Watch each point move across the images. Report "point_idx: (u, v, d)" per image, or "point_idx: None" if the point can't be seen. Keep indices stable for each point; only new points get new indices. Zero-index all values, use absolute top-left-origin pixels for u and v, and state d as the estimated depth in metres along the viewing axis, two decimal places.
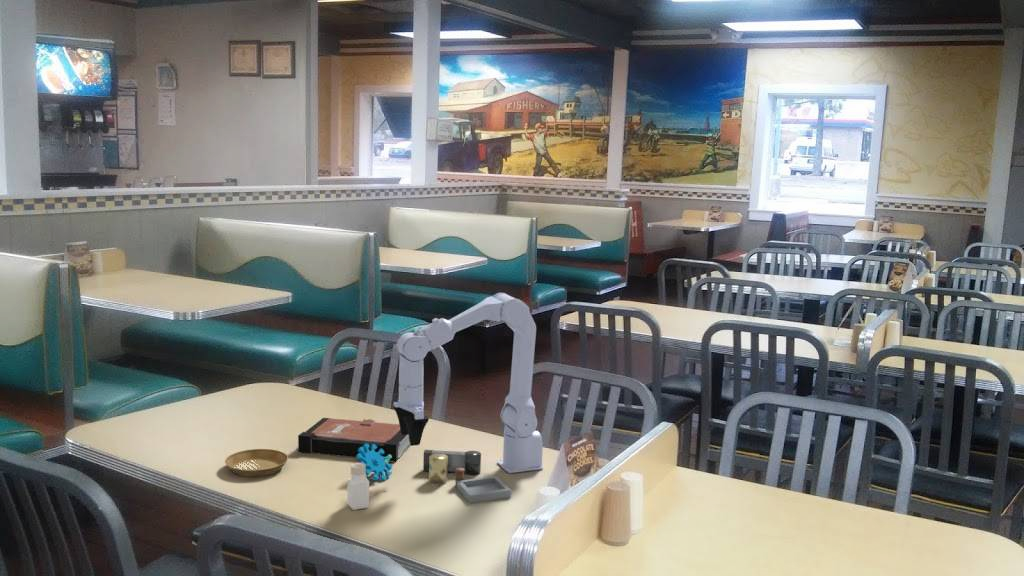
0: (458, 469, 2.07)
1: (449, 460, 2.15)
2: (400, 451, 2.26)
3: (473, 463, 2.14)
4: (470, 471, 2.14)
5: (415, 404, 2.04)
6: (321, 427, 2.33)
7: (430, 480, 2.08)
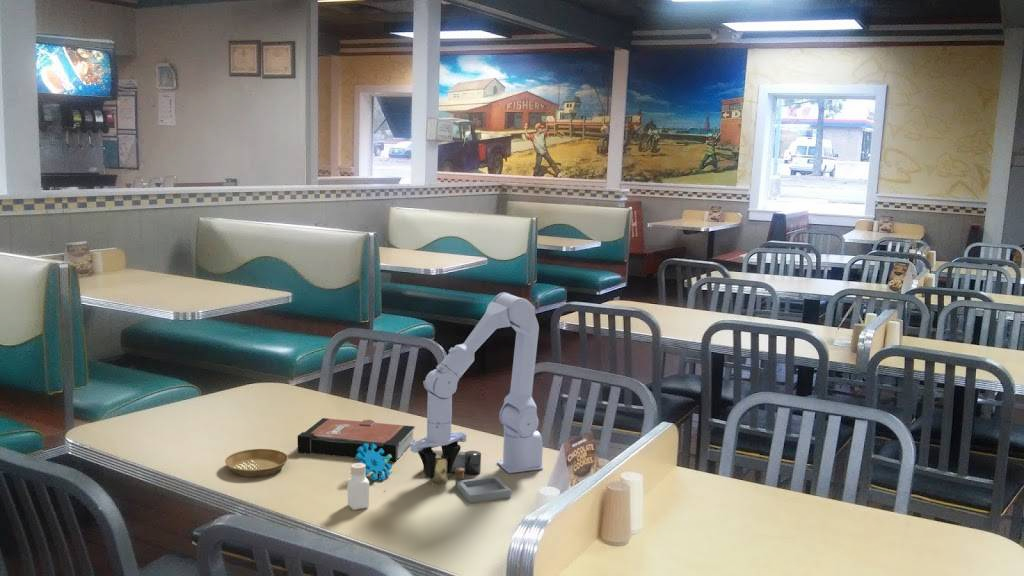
0: (458, 469, 2.07)
1: None
2: (399, 452, 2.25)
3: (473, 463, 2.14)
4: (470, 471, 2.14)
5: (429, 439, 2.06)
6: (321, 427, 2.33)
7: (430, 480, 2.08)
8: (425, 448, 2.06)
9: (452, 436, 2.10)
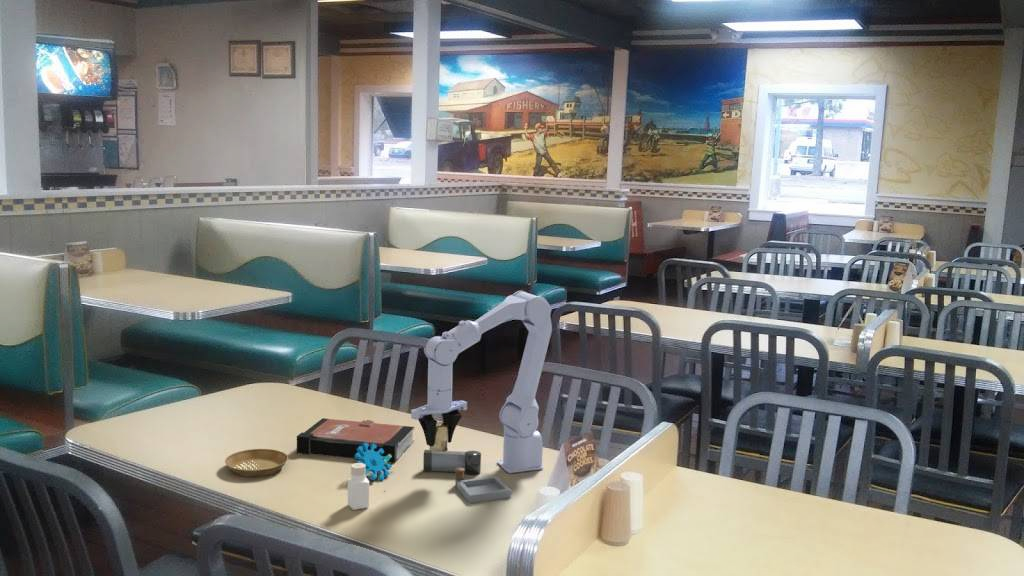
0: (458, 469, 2.07)
1: (449, 460, 2.15)
2: (399, 452, 2.25)
3: (473, 463, 2.14)
4: (470, 471, 2.14)
5: (430, 407, 2.05)
6: (320, 427, 2.33)
7: (431, 448, 2.07)
8: (425, 415, 2.04)
9: (453, 404, 2.09)
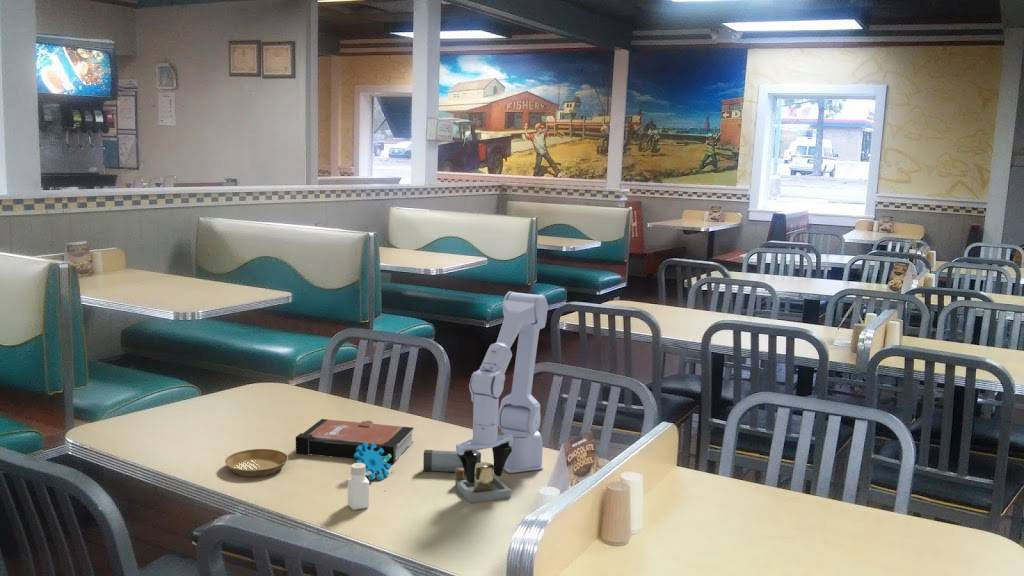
0: (458, 469, 2.07)
1: (449, 460, 2.15)
2: (398, 453, 2.24)
3: None
4: None
5: (475, 441, 2.00)
6: (319, 428, 2.32)
7: (475, 489, 2.02)
8: (470, 450, 1.99)
9: (498, 438, 2.04)
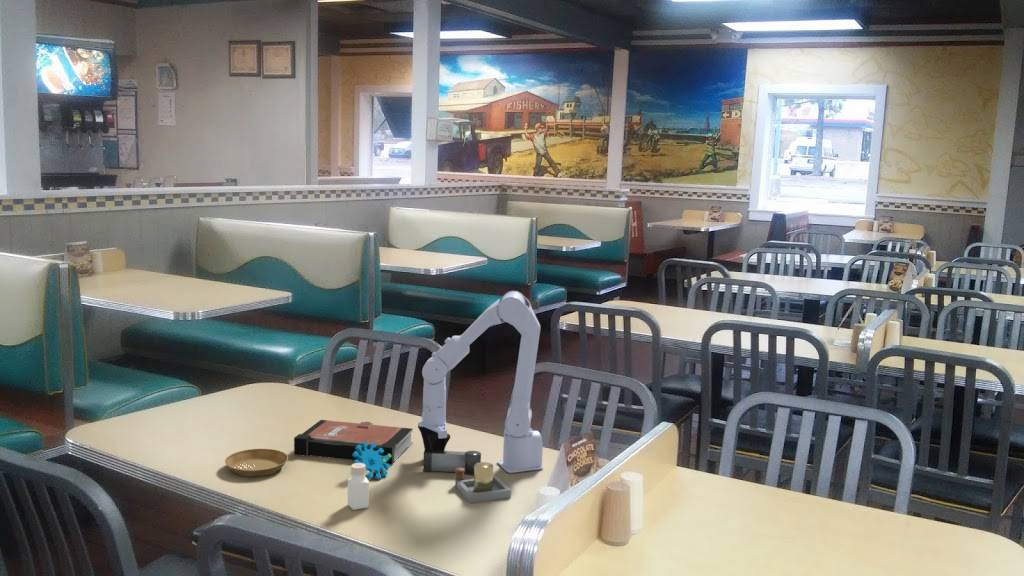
0: (458, 469, 2.07)
1: (449, 460, 2.15)
2: (396, 454, 2.23)
3: (473, 463, 2.14)
4: (470, 471, 2.14)
5: (438, 424, 2.18)
6: (318, 429, 2.32)
7: (475, 489, 2.02)
8: None
9: None
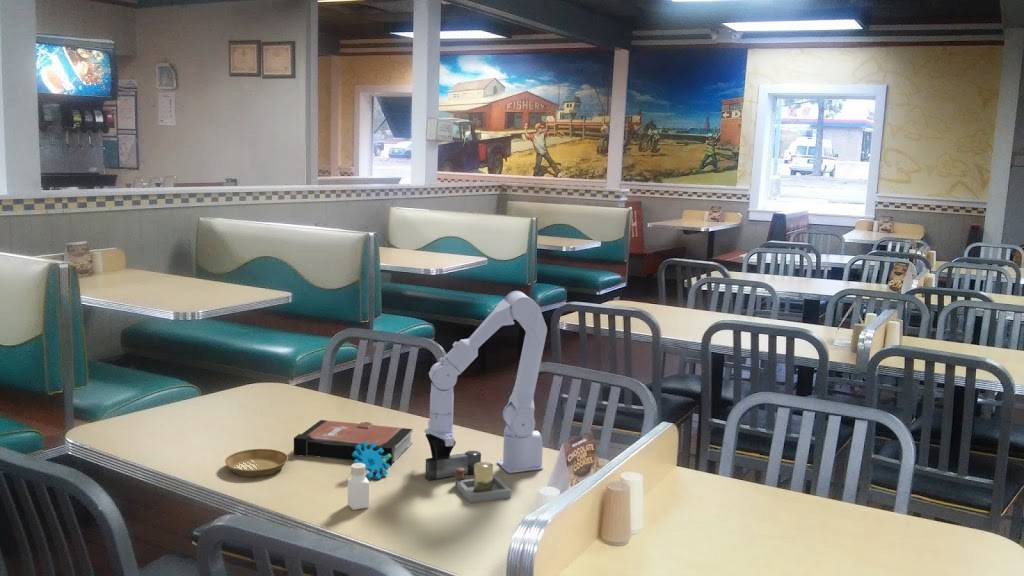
0: (458, 469, 2.07)
1: (453, 464, 2.12)
2: (396, 454, 2.23)
3: (477, 462, 2.14)
4: None
5: (445, 431, 2.12)
6: (318, 429, 2.31)
7: (474, 489, 2.02)
8: None
9: None
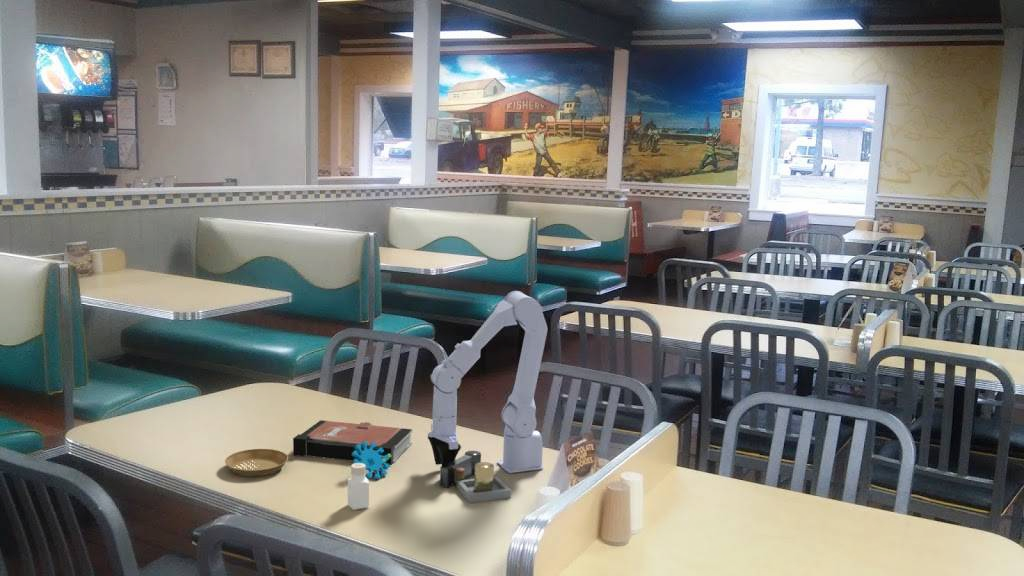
0: (458, 469, 2.07)
1: (463, 467, 2.10)
2: (396, 455, 2.23)
3: (480, 461, 2.15)
4: None
5: (449, 434, 2.10)
6: (317, 429, 2.31)
7: (474, 488, 2.02)
8: None
9: None
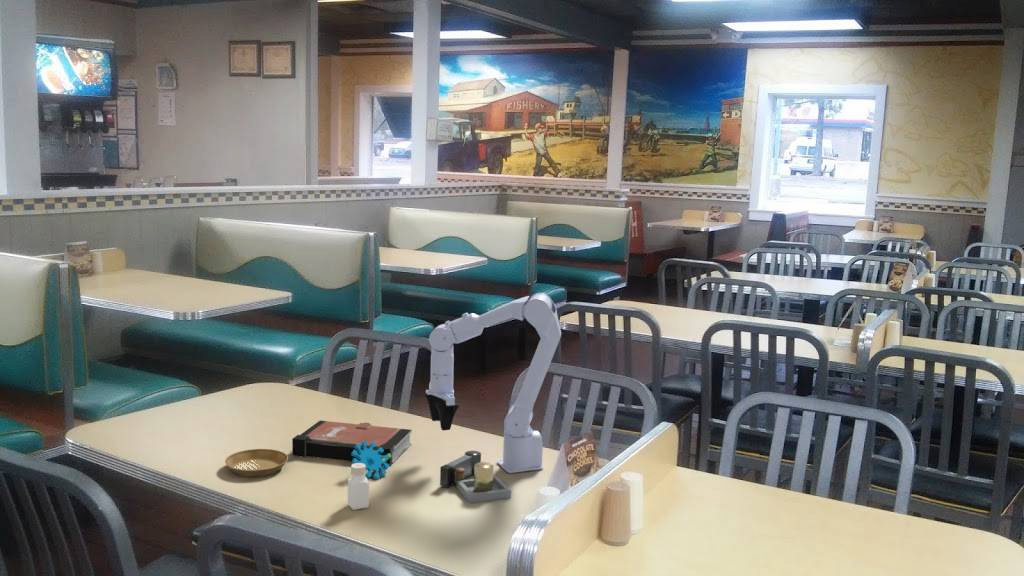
0: (458, 469, 2.07)
1: (463, 467, 2.10)
2: (395, 455, 2.23)
3: (480, 461, 2.15)
4: None
5: (446, 391, 2.17)
6: (317, 430, 2.31)
7: (474, 488, 2.03)
8: None
9: None
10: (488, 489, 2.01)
